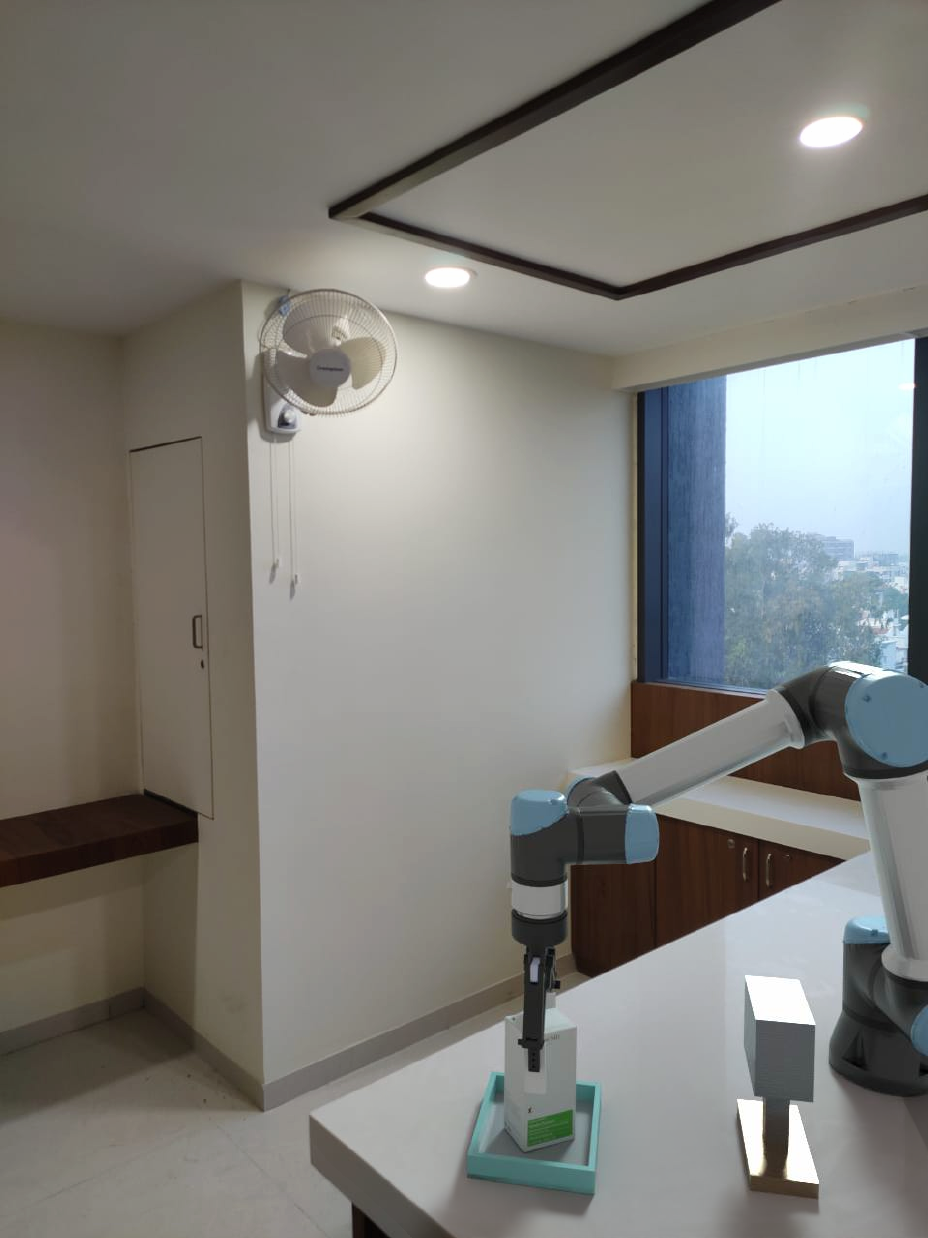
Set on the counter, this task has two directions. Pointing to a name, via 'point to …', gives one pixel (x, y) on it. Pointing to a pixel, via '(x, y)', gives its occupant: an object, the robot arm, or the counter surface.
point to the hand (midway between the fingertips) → (541, 1062)
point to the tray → (544, 1166)
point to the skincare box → (555, 1111)
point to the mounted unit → (778, 1087)
